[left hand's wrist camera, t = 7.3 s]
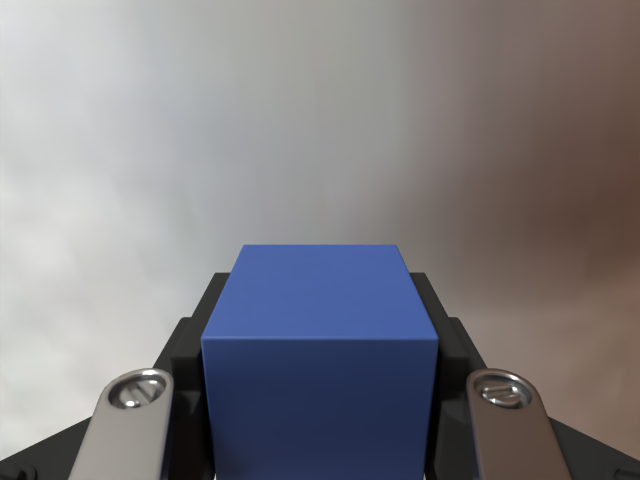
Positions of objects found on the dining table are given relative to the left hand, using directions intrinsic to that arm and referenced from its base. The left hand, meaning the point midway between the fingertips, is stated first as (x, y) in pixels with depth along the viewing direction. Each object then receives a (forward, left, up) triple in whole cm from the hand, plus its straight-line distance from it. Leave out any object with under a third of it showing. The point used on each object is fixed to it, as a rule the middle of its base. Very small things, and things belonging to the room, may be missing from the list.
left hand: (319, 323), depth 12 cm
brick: (0, 0, 0) cm, 0 cm away
